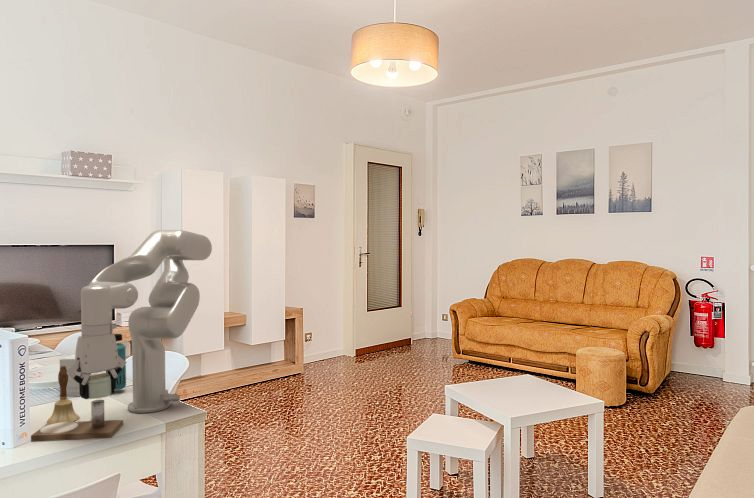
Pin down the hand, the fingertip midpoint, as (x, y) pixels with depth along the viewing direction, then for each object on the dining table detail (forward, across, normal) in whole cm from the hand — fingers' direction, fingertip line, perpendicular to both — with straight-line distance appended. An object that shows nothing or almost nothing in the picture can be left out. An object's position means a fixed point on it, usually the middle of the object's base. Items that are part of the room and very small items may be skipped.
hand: (98, 394), depth 153 cm
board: (+10, +4, -3) cm, 12 cm away
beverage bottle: (+11, -22, -34) cm, 42 cm away
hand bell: (+11, +2, -18) cm, 21 cm away
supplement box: (+11, -13, -43) cm, 46 cm away
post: (+9, 0, 0) cm, 9 cm away
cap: (0, 0, 0) cm, 0 cm away
